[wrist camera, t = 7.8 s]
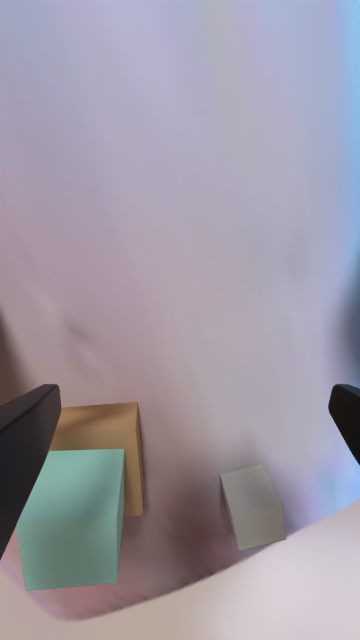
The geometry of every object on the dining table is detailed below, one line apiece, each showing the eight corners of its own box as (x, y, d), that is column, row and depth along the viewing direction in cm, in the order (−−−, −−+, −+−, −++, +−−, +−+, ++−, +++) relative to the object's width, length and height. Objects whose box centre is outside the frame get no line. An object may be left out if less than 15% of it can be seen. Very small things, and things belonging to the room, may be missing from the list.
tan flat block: (137, 399, 22) (135, 427, 19) (144, 477, 25) (143, 515, 21) (34, 407, 22) (12, 438, 18) (51, 487, 24) (35, 527, 21)
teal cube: (124, 448, 19) (116, 518, 15) (124, 503, 21) (117, 583, 16) (49, 451, 19) (15, 524, 14) (54, 507, 20) (25, 591, 15)
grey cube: (262, 462, 25) (282, 503, 21) (266, 495, 26) (286, 539, 23) (219, 473, 25) (231, 515, 21) (225, 505, 26) (238, 551, 22)
